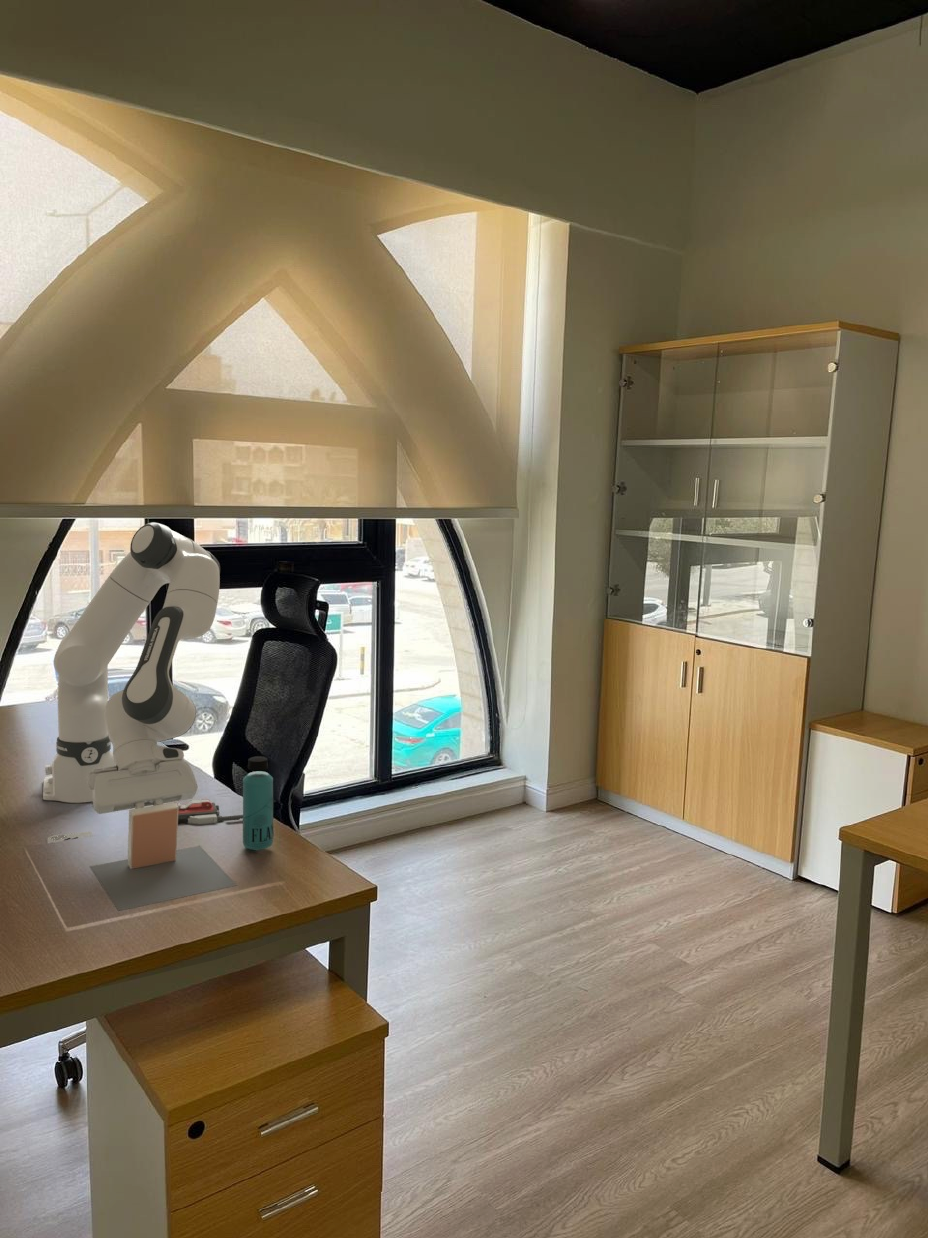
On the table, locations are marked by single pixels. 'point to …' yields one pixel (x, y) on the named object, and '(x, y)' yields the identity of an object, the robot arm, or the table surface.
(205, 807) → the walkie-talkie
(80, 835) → the handheld gaming device
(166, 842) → the block
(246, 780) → the beverage bottle
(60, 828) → the table surface
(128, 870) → the mat
